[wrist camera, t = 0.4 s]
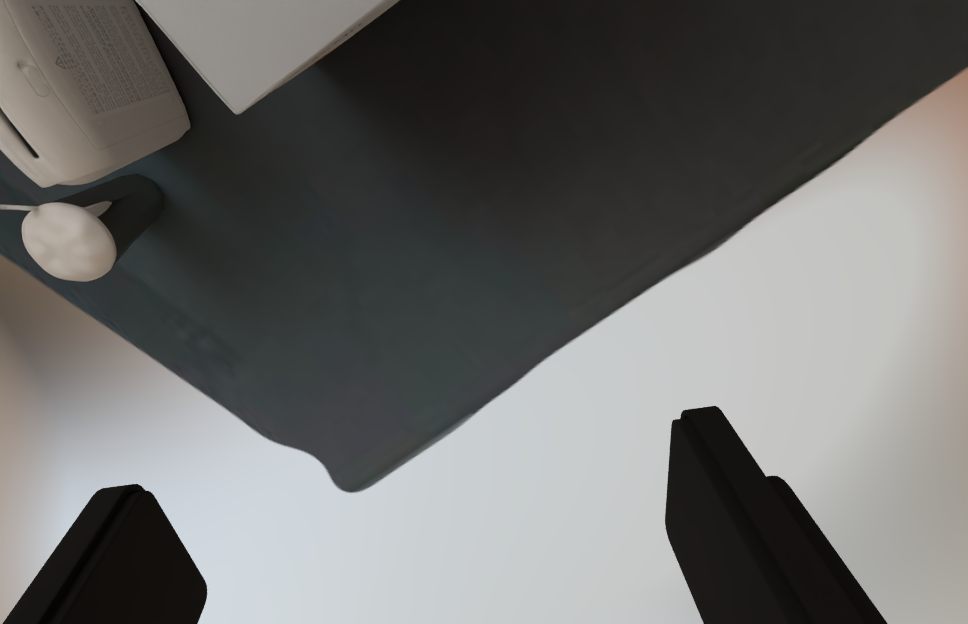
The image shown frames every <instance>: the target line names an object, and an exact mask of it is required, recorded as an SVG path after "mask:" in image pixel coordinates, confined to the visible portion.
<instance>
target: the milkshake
mask: <svg viewBox="0 0 968 624" xmlns="http://www.w3.org/2000/svg"><path fill="white" fill-rule="evenodd" d="M0 209H9V210H32V211H31V212H30V213H29V214H28V215H27V216H26V217H25V219H24V221H23V224H22V238H23V242H24V245H25V247H26V249H27V251H28V253H29V254H30V255H31V256H32V258H33V259H34V260H35V261H36V262H37V263H38V264H39V265H40V266H41V267H42V268H43V269H44V270H45V271H46V272H48V273H49V274H51V275H53V276H55V277H57V278H60V279H65V280H73V281H91V280H94V279H97V278H99V277H101V276H103V275H104V274H106V273H107V272H108V271H109V270H110V269H111V268H112V267H113V266H114V264H115V263H116V262H117V261H118V260H119V259H120V258H121V257H122V255H123V254H124V253H125V252H126V251H127V250H128V248H129V247H130V246H131V244H132V243H133V242H134V241H135V240H136V239H137V238H138V237H139V236H140V235H141V234H142V233H143V232H144V231H145V230H146V229H147V228H148V227H149V226H150V225H151V224H152V223H153V222H154V221H155V220H156V219H157V218H158V216H159V215H160V214H161V213H162V212H163V211H164V209H165V207H164V195H163V193H162V192H161V191H160V190H159V188H158V187H157V186H156V185H155V183H154V182H153V181H151V180H149V179H146V178H144V177H142V176H140V175H138V174H135V175H127V176H121V177H118V178H115V179H113V180H110V181H107V182H105V183H102V184H100V185H97V186H94V187H92V188H89V189H87V190H84V191H81V192H79V193H76V194H73V195H70V196H67V197H64V198H61V199H58V200H55V201H52V202H49V203H46V204H43V205H40V206H24V205H3V204H1V205H0Z"/></svg>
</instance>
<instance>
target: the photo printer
mask: <svg viewBox="0 0 968 624" xmlns="http://www.w3.org/2000/svg"><path fill="white" fill-rule="evenodd" d="M189 129H190V121H189V118H188V115H187V112H186V109H185V106H184V104H183V102H182V99H181V97H180V95H179V93H178V91H177V89H176V86H175V84H174V82H173V80H172V78H171V76H170V74H169V72H168V69H167V67H166V65H165V63H164V61H163V59H162V57H161V55H160V53H159V51H158V49H157V47H156V45H155V43H154V41H153V39H152V37H151V35H150V33H149V31H148V29H147V27H146V24H145V22H144V20H143V19H142V17H141V15H140V12H139V10H138V8H137V7H136V5H135V3H134V1H133V0H0V149H1V150H2V151H3V153H4V154H5V155H6V156H7V157H8V158H9V159H10V160H11V161H12V162H13V163H14V164H15V165H16V166H17V167H18V168H19V169H20V170H21V171H22V172H23V173H24V174H26V175H27V176H28V177H29V178H30V179H32V180H33V181H34V182H35V183H36V184H38V185H39V186H40V187H43V188H44V187H49V186H52V185H55V184H63V185H80V184H86V183H90V182H93V181H95V180H97V179H99V178H102V177H104V176H106V175H108V174H110V173H112V172H114V171H116V170H118V169H120V168H122V167H124V166H126V165H128V164H130V163H132V162H134V161H136V160H138V159H140V158H142V157H145V156H147V155H149V154H151V153H153V152H155V151H157V150H159V149H161V148H163V147H165V146H167V145H169V144H171V143H173V142H175V141H177V140H178V139H180V138H181V137H182V136H183V135H184V133H185V132H186V131H187V130H189Z"/></svg>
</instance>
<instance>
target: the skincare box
mask: <svg viewBox="0 0 968 624" xmlns="http://www.w3.org/2000/svg"><path fill="white" fill-rule="evenodd" d="M135 1H136V2H137V3H138V4H139V5H140V6H141V7H142V8H143V9H144V10H145V11H146V12H147V13H148V15H149V16H150V17H151V18H152V19H153V20H154V22H155V23H156V24H157V25H158V26H159V28H160V29H161V30H162V31H163V32H164V33H165V35H166V36H167V37H168V38H169V39H170V40H171V42H172V43H173V44H174V45H175V46H176V48H177V49H178V50H179V51H180V52H181V53H182V55H183V56H184V57H185V58H186V59H187V60H188V62H189V63H190V64H191V65H192V66H193V68H194V69H195V70H196V71H197V72H198V73H199V75H200V76H201V77H202V78H203V79H204V80H205V82H206V83H207V84H208V85H209V86H210V87H211V88H212V90H213V91H214V92H215V93H216V94H217V95H218V96H219V97H220V99H221V100H222V101H223V102H224V103H225V104H226V105H227V106H228V107H229V108H230V109H231V110H232V111H233V113H235V114H240V113H242V112H243V111H245V110H246V109H248V108H249V107H250V106H252V105H253V104H254V103H256V102H257V101H258V100H260V99H262V98H263V97H265V96H266V95H268V94H269V93H271V92H272V91H274V90H275V89H277V88H278V87H280V86H281V85H283V84H284V83H286V82H288V81H289V80H291V79H292V78H294V77H295V76H297V75H298V74H299V73H301V72H302V71H304V70H305V69H307V68H308V67H310V66H311V65H313V64H314V63H315V62H317V61H318V60H320V59H321V58H323V57H324V56H325V55H327V54H328V53H330V52H331V51H333V50H334V49H335V48H337V47H338V46H339V45H341V44H342V43H343V42H345V41H346V40H347V39H349V38H350V37H352V36H353V35H354V34H356V33H357V32H358V31H360V30H361V29H362V28H364V27H365V26H366V25H368V24H369V23H370V22H372V21H373V20H374V19H376V18H377V17H378V16H380V15H381V14H382V13H384V12H385V11H386V10H388V9H389V8H390V7H392V6H393V5H394V4H396V3H397V2H398V1H400V0H135Z"/></svg>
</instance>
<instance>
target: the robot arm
mask: <svg viewBox="0 0 968 624" xmlns="http://www.w3.org/2000/svg"><path fill="white" fill-rule="evenodd" d="M667 486H668V487H667V501H666V515H665V525H666V530H667V535H668V538H669V541H670V544H671V546H672V548H673V551H674V553H675V556H676V558H677V561H678V563H679V565H680V568H681V570H682V572H683V575H684V577H685V580H686V582H687V584H688V587H689V589H690V591H691V594H692V596H693V599H694V601H695V604H696V606H697V608H698V611H699V613H700V616H701V618H702V620H703V623H704V624H887V622H886V621H885V620H884V618H883V617H882V615H881V614H880V613H879V611H878V610H877V608H876V607H875V606H874V604H873V603H872V602H871V600H870V599H869V597H868V596H867V594H866V593H865V591H864V590H863V589H862V587H861V586H860V584H859V583H858V582H857V580H856V579H855V578H854V576H853V575H852V574H851V572H850V571H849V569H848V568H847V566H846V565H845V563H844V562H843V561H842V559H841V558H840V556H839V555H838V554H837V552H836V551H835V549H834V548H833V547H832V545H831V544H830V542H829V541H828V540H827V538H826V537H825V535H824V534H823V533H822V531H821V530H820V528H819V527H818V525H817V524H816V523H815V521H814V520H813V519H812V517H811V516H810V514H809V513H808V511H807V510H806V509H805V507H804V506H803V504H802V503H801V502H800V500H799V499H798V497H797V496H796V495H795V493H794V492H793V490H792V489H791V488H790V487H789V485H788V484H787V483H786V482H785V481H784V480H783V479H781V478H780V477H778V476H767V477H766V476H765V475H764V473H763V472H762V470H761V469H760V467H759V466H758V464H757V463H756V461H755V460H754V458H753V457H752V455H751V454H750V452H749V451H748V450H747V448H746V447H745V445H744V444H743V442H742V441H741V439H740V438H739V436H738V435H737V433H736V432H735V430H734V429H733V427H732V426H731V424H730V423H729V421H728V420H727V418H726V417H725V416H724V414H723V412H722V411H721V410H720V409H719V408H718V407H716V406H711V407H704V408H697V409H689V410H684V411H683V412H682V414H681V419H677V420H673V422H672V428H671V443H670V456H669V471H668V485H667ZM206 598H207V585H206V583H205V580H204V579H203V577H202V575H201V574H200V572H199V570H198V568H197V567H196V565H195V563H194V562H193V560H192V558H191V557H190V555H189V553H188V552H187V550H186V548H185V547H184V545H183V543H182V542H181V540H180V538H179V537H178V535H177V533H176V532H175V530H174V528H173V527H172V525H171V523H170V522H169V520H168V518H167V517H166V515H165V513H164V512H163V510H162V509H161V507H160V505H159V503H158V502H157V500H156V498H155V497H154V495H153V494H152V493H151V492H149V491H145V490H144V489H143V488H142V486H140V485H138V484H132V485H124V486H117V487H109V488H103V489H101V490H99V491H97V492H96V493H95V494H94V495H93V496H92V498H91V499H90V501H89V502H88V504H87V505H86V506H85V508H84V509H83V511H82V512H81V513H80V515H79V516H78V518H77V519H76V521H75V522H74V523H73V525H72V526H71V528H70V529H69V530H68V532H67V533H66V535H65V536H64V537H63V539H62V540H61V542H60V543H59V545H58V546H57V547H56V549H55V550H54V552H53V553H52V554H51V556H50V557H49V559H48V560H47V561H46V563H45V564H44V566H43V567H42V569H41V570H40V571H39V573H38V574H37V576H36V577H35V578H34V580H33V581H32V583H31V584H30V586H29V587H28V588H27V590H26V591H25V593H24V594H23V596H22V597H21V598H20V600H19V601H18V603H17V604H16V605H15V607H14V608H13V610H12V611H11V612H10V614H9V615H8V617H7V618H6V620H5V621H4V622H3V624H197V623H198V621H199V618H200V615H201V613H202V610H203V608H204V605H205V602H206Z"/></svg>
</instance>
